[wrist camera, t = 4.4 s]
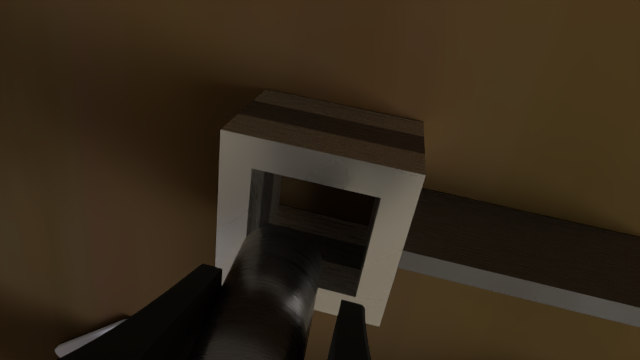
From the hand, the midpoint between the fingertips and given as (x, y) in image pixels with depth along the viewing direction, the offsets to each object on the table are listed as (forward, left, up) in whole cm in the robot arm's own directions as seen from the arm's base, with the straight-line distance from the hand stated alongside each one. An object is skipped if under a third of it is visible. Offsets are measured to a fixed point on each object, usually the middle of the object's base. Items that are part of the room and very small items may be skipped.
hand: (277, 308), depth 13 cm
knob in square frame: (-8, -1, -9) cm, 12 cm away
